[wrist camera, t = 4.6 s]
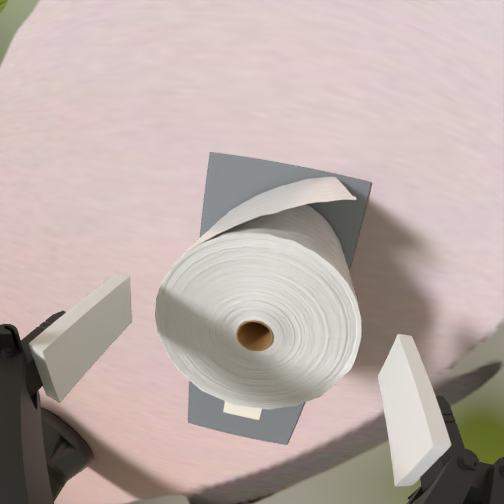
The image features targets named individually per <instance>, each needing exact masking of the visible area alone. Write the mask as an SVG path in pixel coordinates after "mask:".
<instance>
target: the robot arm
mask: <svg viewBox="0 0 504 504" xmlns="http://www.w3.org/2000/svg"><path fill="white" fill-rule="evenodd" d="M131 322H132V313H131V289H130V276H129V275H126V274H122V273H118V272H117V273H116V274H115V275H113V276H112V277H111V278H109V279H108V280H107V281H105V282H104V283H103V284H101V285H100V286H99V287H98V288H96V289H95V290H94V291H92V292H91V293H90V294H89V295H87V296H86V297H85V298H84V299H82V300H81V301H80V302H78V303H77V304H76V305H75V306H73V307H72V308H71V309H70V310H69V311H67V312H65V311H61V312H58V313H56V314H53V315H52V316H51V317H49V318H48V319H47V320H46V321H45V322H43V323H42V324H41V325H40V326H39V327H37V328H36V329H35V330H33V331H32V332H31V333H30V334H28V335H27V336H26V337H25V338H24V339H22V340H20V337H19V333H18V330H17V328H16V327H15V326H13V325H11V324H2V325H0V504H54V501H55V499H56V498H57V496H58V495H59V493H60V491H61V490H62V488H63V487H64V485H65V483H66V482H67V481H68V480H69V479H71V478H72V477H74V476H75V475H76V474H78V473H79V472H81V471H82V470H84V469H85V468H87V467H88V465H89V464H90V462H91V461H92V459H93V453H92V451H91V449H90V448H89V446H88V445H87V444H86V443H85V441H84V440H83V439H82V438H81V437H80V436H79V435H78V434H77V433H76V432H75V431H74V430H73V429H72V428H71V427H69V426H68V425H67V424H66V423H65V422H63V421H62V420H61V419H59V418H58V417H57V416H55V415H54V414H52V413H50V412H49V411H47V410H45V409H43V408H41V407H40V394H39V391H38V390H39V389H40V388H41V387H42V386H43V388H44V390H45V393H46V395H47V396H49V397H51V398H52V399H54V400H56V401H58V402H59V403H60V402H61V401H62V400H63V399H64V398H65V396H66V395H67V394H68V393H69V392H70V391H71V389H72V388H73V387H74V386H75V385H76V384H77V382H78V381H79V380H80V379H81V378H82V377H83V376H84V374H85V373H86V372H87V371H88V370H89V369H90V368H91V366H92V365H93V364H94V363H95V362H96V361H97V360H98V359H99V357H100V356H101V355H102V354H103V353H104V352H105V351H106V350H107V349H108V347H109V346H110V345H111V344H112V343H113V342H114V341H115V340H116V339H117V337H118V336H119V335H120V334H121V333H122V332H123V331H124V330H125V329H126V328H127V327H128V325H129V324H130V323H131ZM378 381H379V386H380V391H381V396H382V402H383V407H384V413H385V418H386V424H387V430H388V437H389V443H390V450H391V457H392V465H393V473H394V482H395V486H412V485H413V484H414V483H415V482H416V481H418V480H419V479H420V480H421V487H419V488H418V489H417V490H416V491H415V492H414V493H413V494H411V495H410V496H409V497H408V499H410V500H409V502H408V503H407V504H504V457H502V458H500V459H498V460H497V461H496V462H495V463H494V464H493V465H491V464H486V463H482V462H479V459H478V458H477V456H476V454H474V453H473V452H472V451H470V450H468V449H465V448H464V445H463V442H462V439H461V436H460V433H459V430H458V427H457V424H456V423H455V419H454V416H453V413H452V410H451V408H450V405H449V404H448V402H447V401H446V400H445V399H444V397H443V396H435V394H434V391H433V388H432V385H431V383H430V380H429V377H428V375H427V372H426V370H425V367H424V364H423V362H422V359H421V357H420V354H419V352H418V350H417V347H416V345H415V342H414V340H413V338H412V336H410V335H403V334H398V335H397V337H396V339H395V341H394V344H393V346H392V348H391V350H390V352H389V355H388V357H387V359H386V361H385V363H384V365H383V367H382V369H381V371H380V373H379V375H378Z"/></svg>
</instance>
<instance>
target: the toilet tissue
mask: <svg viewBox="0 0 504 504" xmlns="http://www.w3.org/2000/svg"><path fill="white" fill-rule="evenodd" d="M336 200H356V197H354V196H352V195H351V194H350V192H349V191H348V190H347V189H346V187H344V185H342V183H341V182H339V180H338V179H337V178H336V177H321V178H310V179H305V180H301V181H298V182H294V183H291V184H287V185H283V186H279V187H277V188H274V189H271V190H269V191H266V192H264V193H261V194H259V195H257V196H255V197H253V198H251V199H249V200H248V201H246V202H244V203H242V204H240V205H239V206H237V207H236V208H234V209H232V210H230V211H229V212H228V213H227V214H226V215H225V216H224V217H222V218H221V219H220V220H219V221H218V222H217V223H216V224H215V225H214V226H212V227H211V229H210V230H209V231H208V232H206V233H205V234H204V235H202V236H201V237H200V238H199V239H198V240H197V241H196V242H195V243H194V244H193V245H192V246H191V247H190V248H189V249H188V250H187V251H185V253H184V254H183V255H182V257H181V258H180V259H179V260H178V261H177V262H176V263H175V264H174V265H173V266H172V267H171V268H170V270H169V271H168V273H167V274H166V276H165V278H164V279H163V281H162V283H161V286H160V289H159V292H158V295H157V298H156V310H155V318H156V325H157V331H158V334H159V337H160V340H161V343H162V345H163V348H164V349H165V351H166V353H167V354H168V356H169V358H170V360H171V361H172V362H173V364H174V365H175V366H176V367H177V368H178V370H179V371H180V372H181V373H182V374H183V375H184V376H185V377H186V378H187V379H189V380H190V381H191V382H192V383H193V384H194V385H196V386H197V387H198V388H199V389H200V390H201V391H203V392H206V393H208V394H210V395H212V396H215V397H217V398H219V399H221V400H224V401H226V402H228V403H230V404H233V405H238V406H245V407H253V408H261V409H268V410H270V409H276V408H282V407H295V406H297V405H299V404H301V403H303V402H306V401H309V400H312V399H315V398H318V397H320V396H321V395H322V394H324V393H325V392H326V391H327V390H329V389H330V388H331V387H332V386H334V385H335V384H336V383H337V382H339V381H340V379H341V378H342V377H343V376H344V375H345V374H346V373H347V372H348V371H349V370H351V368H352V366H353V364H354V362H355V359H356V356H357V352H358V348H359V344H360V340H361V335H362V324H361V316H360V309H359V306H358V300H357V296H356V293H355V290H354V286H353V284H352V280H351V277H350V273H349V269H348V266H347V264H346V259H345V257H344V254H343V250H342V248H341V244H340V241H339V239H338V238H337V236H336V234H335V232H334V230H333V229H332V227H331V226H330V224H329V223H328V222H327V221H326V220H325V219H324V217H323V216H322V215H320V214H319V213H318V212H317V211H315V210H314V209H313V208H312V207H310V206H308V205H305V204H310V203H315V202H329V201H336Z"/></svg>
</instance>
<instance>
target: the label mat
mask: <svg viewBox="0 0 504 504" xmlns="http://www.w3.org/2000/svg"><path fill="white" fill-rule="evenodd" d="M321 177H336V178H337V179H338V180H339V182H341V183H342V185H344V187H346V189H347V190H348V191H349V192H350V194H351V195H352V196H354V197H356V200H336V201H329V202H315V203H310V204H305V205H308V206H310V207H312V208H313V209H314V210H315V211H317V212H318V213H319V214H320V215H322V216H323V217H324V219H325V220H326V221H327V222H328V223H329V224H330V226H331V227H332V229H333V230H334V232H335V234H336V236H337V238H338V239H339V241H340V244H341V248H342V250H343V254H344V257H345V259H346V264H347V266H348V269H350V266H351V262H352V259H353V255H354V251H355V247H356V244H357V240H358V236H359V232H360V228H361V224H362V220H363V216H364V211H365V207H366V203H367V198H368V194H369V189H370V185H371V182H368V181H364V180H360V179H355V178H351V177H347V176H342V175H338V174H333V173H329V172H324V171H319V170H314V169H309V168H304V167H299V166H294V165H289V164H283V163H278V162H272V161H266V160H260V159H254V158H248V157H241V156H235V155H228V154H221V153H213V152H210V155H209V163H208V171H207V179H206V187H205V195H204V203H203V212H202V221H201V231H200V237H201V236H202V235H204V234H205V233H206V232H208V231H209V230H210V229H211V227H212V226H214V225H215V224H216V223H217V222H218V221H219V220H220V219H221V218H222V217H224V216H225V215H226V214H227V213H228V212H229V211H230V210H232V209H234V208H236V207H237V206H239V205H240V204H242V203H244V202H246V201H248V200H249V199H251V198H253V197H255V196H257V195H259V194H261V193H264V192H266V191H269V190H271V189H274V188H277V187H279V186H283V185H287V184H291V183H294V182H298V181H301V180H305V179H310V178H321ZM303 405H304V402H303V403H301V404H299V405H297V406H295V407H282V408H276V409H270V410H268V409H261V408H253V407H245V406H238V405H233V404H230V403H228V402H226V401H224V400H221V399H219V398H217V397H215V396H212V395H210V394H208V393H206V392H203V391H201V390H200V389H199V388H198V387H197V386H196V385H194V384H193V383H192V382H191V381H190V380H189V405H188V423H192V424H195V425H199V426H202V427H206V428H210V429H213V430H217V431H221V432H225V433H229V434H234V435H238V436H243V437H247V438H252V439H257V440H262V441H267V442H273V443H279V444H285V445H287V443H288V441H289V438H290V436H291V434H292V431H293V429H294V427H295V424H296V422H297V420H298V417H299V415H300V412H301V410H302V407H303Z"/></svg>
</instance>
